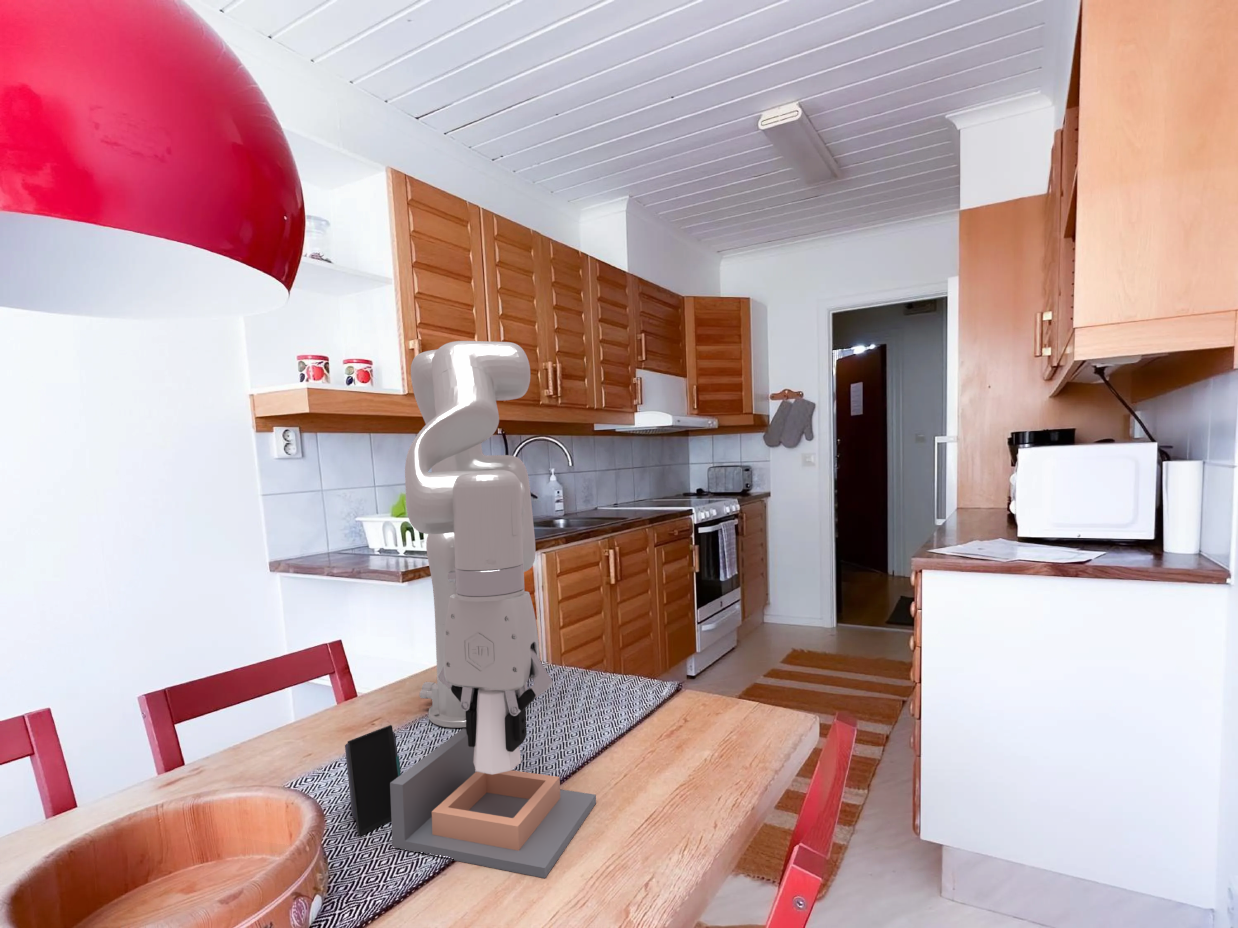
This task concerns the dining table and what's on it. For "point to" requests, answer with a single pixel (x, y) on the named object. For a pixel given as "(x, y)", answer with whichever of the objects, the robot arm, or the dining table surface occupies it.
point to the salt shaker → (492, 734)
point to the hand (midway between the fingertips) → (496, 742)
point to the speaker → (372, 777)
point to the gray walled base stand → (484, 812)
